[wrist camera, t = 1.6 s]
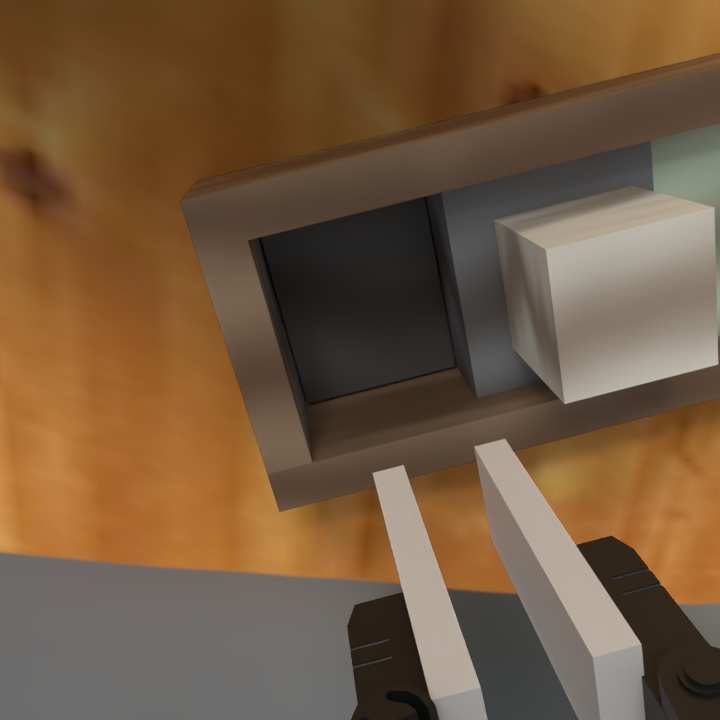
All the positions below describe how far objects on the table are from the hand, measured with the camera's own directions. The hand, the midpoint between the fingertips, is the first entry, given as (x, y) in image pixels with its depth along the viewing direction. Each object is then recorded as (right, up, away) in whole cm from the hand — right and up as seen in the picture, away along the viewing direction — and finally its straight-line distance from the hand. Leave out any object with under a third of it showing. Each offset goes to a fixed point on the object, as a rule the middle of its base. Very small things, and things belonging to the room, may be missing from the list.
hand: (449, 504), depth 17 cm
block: (+7, +7, +14) cm, 17 cm away
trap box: (+10, +10, +17) cm, 23 cm away
